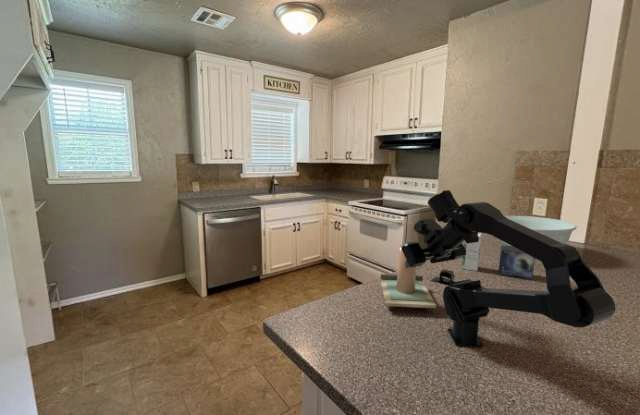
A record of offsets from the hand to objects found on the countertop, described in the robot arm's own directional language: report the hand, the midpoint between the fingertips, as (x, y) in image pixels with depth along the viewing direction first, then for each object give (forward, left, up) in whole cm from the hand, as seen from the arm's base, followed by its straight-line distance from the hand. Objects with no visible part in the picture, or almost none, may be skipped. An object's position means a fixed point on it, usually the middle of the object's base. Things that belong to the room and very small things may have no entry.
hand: (418, 264), depth 87 cm
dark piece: (+20, -15, -14) cm, 28 cm away
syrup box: (+35, -28, -14) cm, 47 cm away
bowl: (+60, -64, -14) cm, 89 cm away
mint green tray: (+5, +3, -13) cm, 14 cm away
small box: (+29, -42, -14) cm, 53 cm away
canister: (+5, +3, -10) cm, 12 cm away
